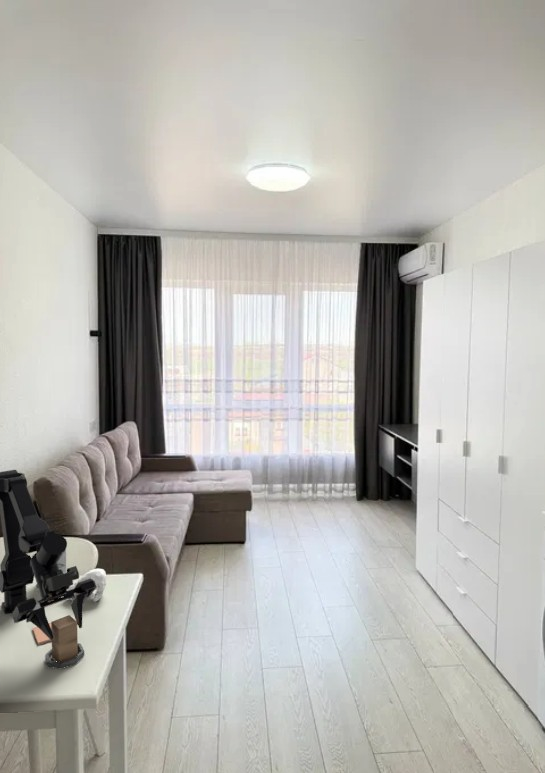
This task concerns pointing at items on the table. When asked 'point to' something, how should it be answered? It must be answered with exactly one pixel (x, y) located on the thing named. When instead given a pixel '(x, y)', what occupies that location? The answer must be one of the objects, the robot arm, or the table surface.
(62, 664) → the metal ring
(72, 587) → the white lumpy piece
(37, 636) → the terracotta mat
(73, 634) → the walnut block
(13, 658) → the table surface
